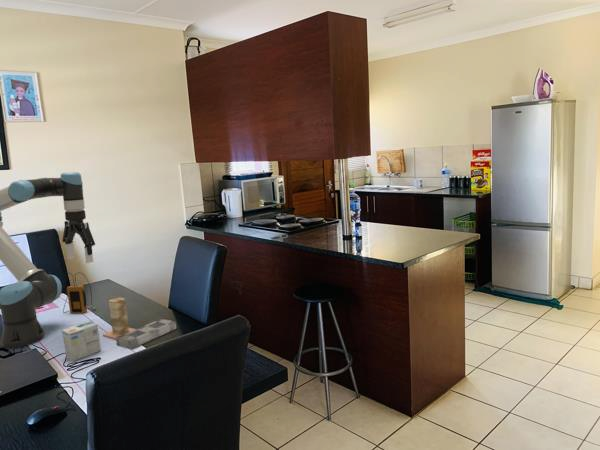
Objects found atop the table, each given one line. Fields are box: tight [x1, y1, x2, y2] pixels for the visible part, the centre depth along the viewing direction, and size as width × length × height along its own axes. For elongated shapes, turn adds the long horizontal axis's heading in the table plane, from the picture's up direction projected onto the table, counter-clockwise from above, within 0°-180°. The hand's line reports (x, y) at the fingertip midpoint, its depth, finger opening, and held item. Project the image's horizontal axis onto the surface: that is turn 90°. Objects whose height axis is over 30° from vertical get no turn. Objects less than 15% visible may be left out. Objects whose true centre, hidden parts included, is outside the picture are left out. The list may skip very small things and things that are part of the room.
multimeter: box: [62, 271, 97, 314], centre depth 219 cm, size 15×10×20 cm
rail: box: [115, 318, 177, 350], centre depth 182 cm, size 22×9×3 cm, turn 147°
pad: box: [102, 327, 136, 341], centre depth 187 cm, size 10×10×1 cm
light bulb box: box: [61, 320, 102, 362], centre depth 169 cm, size 11×7×11 cm, turn 141°
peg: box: [108, 296, 130, 335], centre depth 186 cm, size 4×4×14 cm
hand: (80, 260), depth 190 cm, fingers open, 13 cm apart
